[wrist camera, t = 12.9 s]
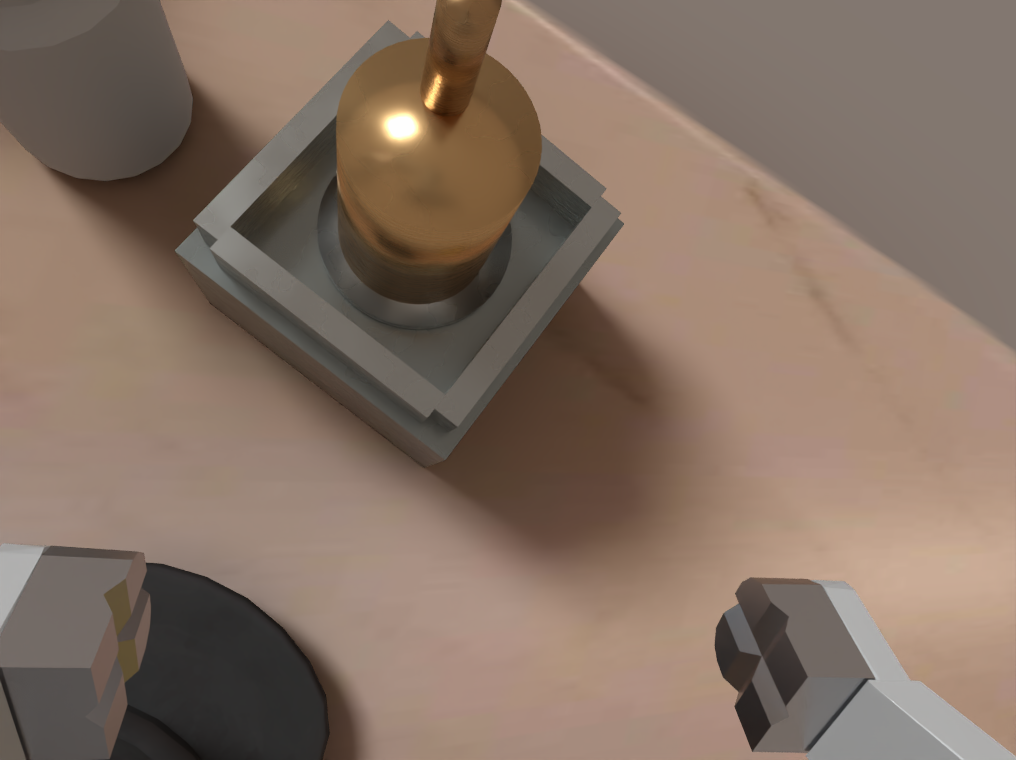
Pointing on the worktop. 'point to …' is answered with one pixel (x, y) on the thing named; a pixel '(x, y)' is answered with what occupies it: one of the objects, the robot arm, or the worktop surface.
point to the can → (92, 85)
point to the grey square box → (374, 318)
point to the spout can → (432, 157)
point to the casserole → (218, 680)
